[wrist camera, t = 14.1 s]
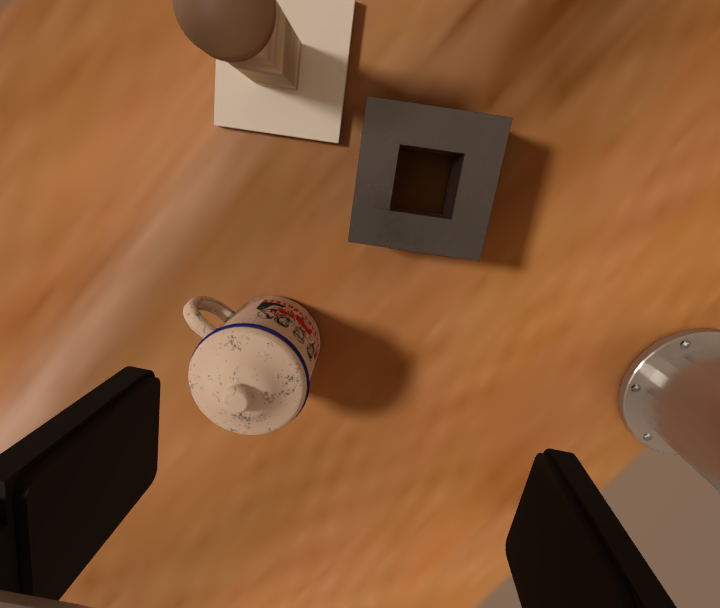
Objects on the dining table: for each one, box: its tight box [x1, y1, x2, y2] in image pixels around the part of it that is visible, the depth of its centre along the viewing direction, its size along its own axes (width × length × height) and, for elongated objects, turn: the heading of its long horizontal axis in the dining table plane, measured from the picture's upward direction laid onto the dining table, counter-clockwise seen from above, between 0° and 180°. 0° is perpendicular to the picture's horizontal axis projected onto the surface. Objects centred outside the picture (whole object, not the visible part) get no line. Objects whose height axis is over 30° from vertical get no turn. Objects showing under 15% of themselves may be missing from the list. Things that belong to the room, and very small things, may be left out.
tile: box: [214, 0, 356, 144], centre depth 32 cm, size 10×10×1 cm
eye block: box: [348, 96, 513, 261], centre depth 32 cm, size 10×10×5 cm
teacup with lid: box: [183, 296, 320, 435], centre depth 34 cm, size 12×9×12 cm
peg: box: [172, 0, 302, 90], centre depth 26 cm, size 5×5×12 cm
